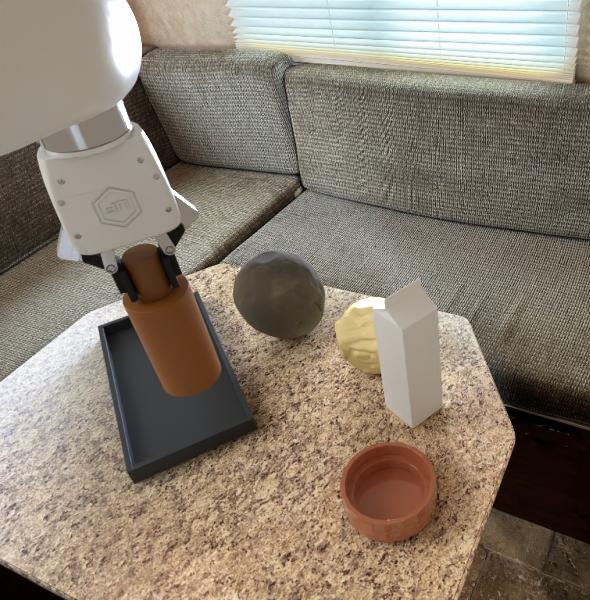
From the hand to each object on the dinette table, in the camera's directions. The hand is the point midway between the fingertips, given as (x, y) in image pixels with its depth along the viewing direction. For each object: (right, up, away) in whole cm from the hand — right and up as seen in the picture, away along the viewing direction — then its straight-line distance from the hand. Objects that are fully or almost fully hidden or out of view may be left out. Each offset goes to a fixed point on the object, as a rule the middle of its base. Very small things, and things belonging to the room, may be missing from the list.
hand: (153, 286), depth 65 cm
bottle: (+1, -10, +9) cm, 14 cm away
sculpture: (+23, -11, +32) cm, 41 cm away
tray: (-10, -14, +32) cm, 37 cm away
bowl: (+25, -27, +12) cm, 39 cm away
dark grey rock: (+7, -7, +39) cm, 40 cm away
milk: (+28, -17, +24) cm, 41 cm away
